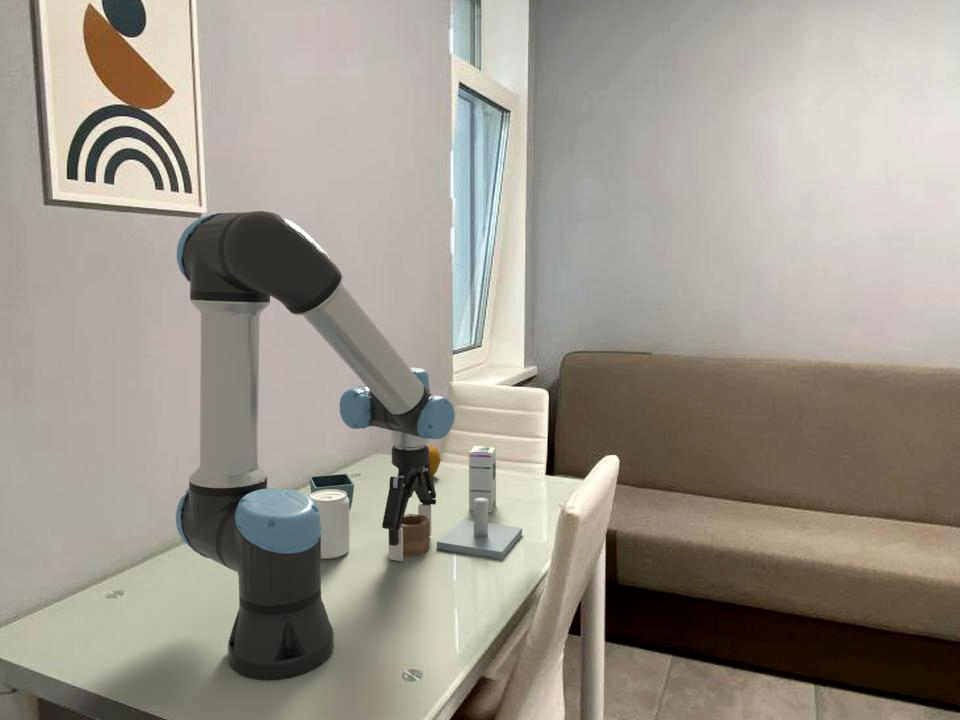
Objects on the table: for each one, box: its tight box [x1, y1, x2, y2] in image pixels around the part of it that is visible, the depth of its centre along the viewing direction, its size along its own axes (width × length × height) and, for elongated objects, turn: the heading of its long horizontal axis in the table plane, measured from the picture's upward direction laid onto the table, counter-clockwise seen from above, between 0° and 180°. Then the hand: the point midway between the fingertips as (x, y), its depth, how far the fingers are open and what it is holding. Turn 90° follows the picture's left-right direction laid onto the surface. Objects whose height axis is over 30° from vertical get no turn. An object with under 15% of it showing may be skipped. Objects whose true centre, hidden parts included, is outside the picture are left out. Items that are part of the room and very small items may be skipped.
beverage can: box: [309, 489, 351, 560], centre depth 141 cm, size 8×8×12 cm
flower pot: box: [309, 473, 355, 512], centre depth 160 cm, size 9×9×9 cm
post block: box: [436, 498, 523, 560], centre depth 148 cm, size 14×14×9 cm
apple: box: [428, 445, 441, 478], centre depth 193 cm, size 9×8×9 cm
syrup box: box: [468, 445, 497, 512], centre depth 168 cm, size 6×6×14 cm
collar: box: [401, 513, 430, 557], centre depth 144 cm, size 7×7×6 cm
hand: (411, 546), depth 144 cm, fingers open, 13 cm apart
